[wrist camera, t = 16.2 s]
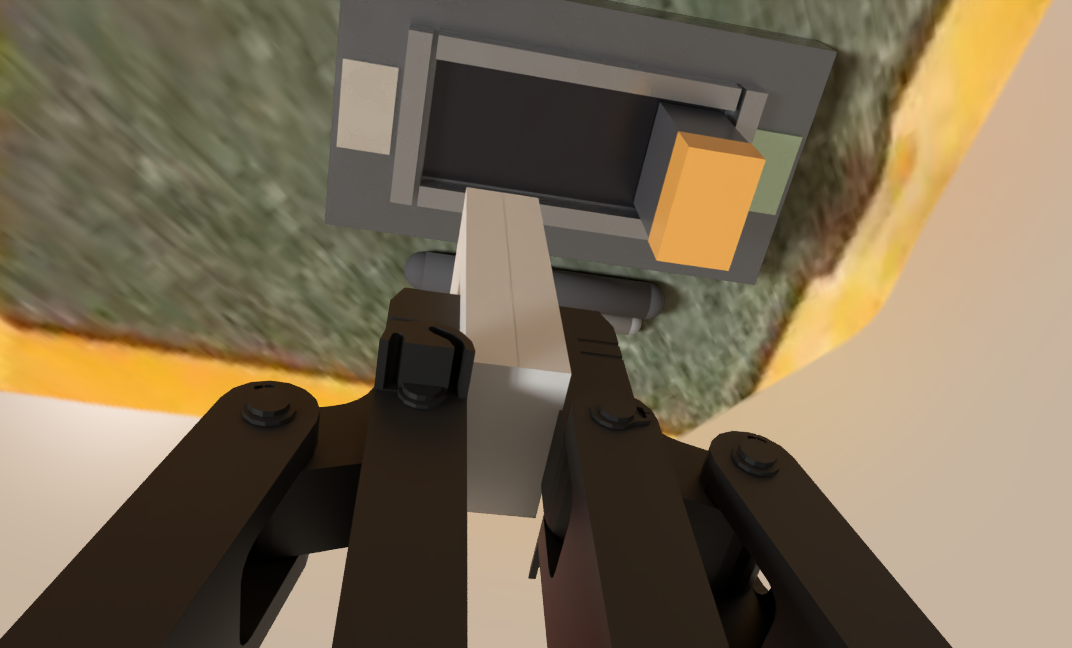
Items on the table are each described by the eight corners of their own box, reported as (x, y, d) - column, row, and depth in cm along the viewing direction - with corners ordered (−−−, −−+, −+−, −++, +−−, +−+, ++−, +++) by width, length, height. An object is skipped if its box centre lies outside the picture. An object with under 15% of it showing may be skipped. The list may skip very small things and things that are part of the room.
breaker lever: (631, 202, 41) (656, 260, 36) (657, 101, 39) (689, 147, 33) (694, 212, 42) (728, 271, 36) (723, 112, 39) (765, 159, 34)
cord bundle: (400, 297, 46) (398, 315, 44) (407, 242, 44) (405, 259, 42) (649, 330, 48) (656, 348, 46) (664, 278, 46) (671, 296, 45)
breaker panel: (331, 204, 43) (321, 234, 40) (350, -49, 37) (339, -38, 34) (741, 264, 46) (761, 295, 43) (818, 40, 40) (847, 58, 37)
